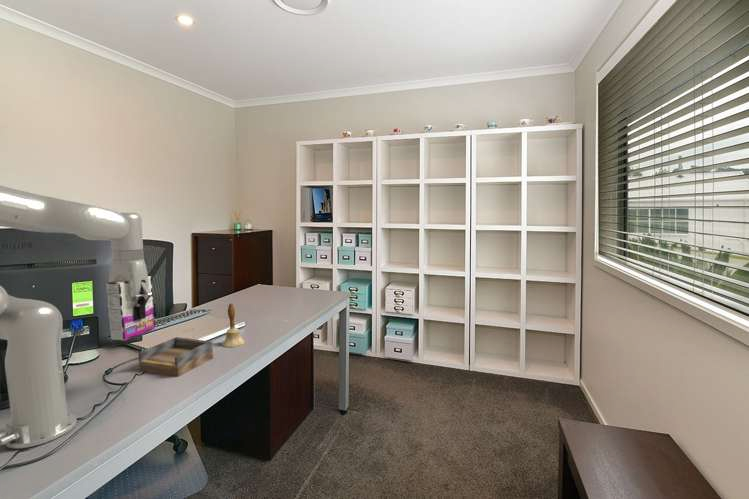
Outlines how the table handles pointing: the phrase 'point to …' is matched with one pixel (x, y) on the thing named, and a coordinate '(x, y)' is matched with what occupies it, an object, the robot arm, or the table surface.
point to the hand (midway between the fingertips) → (132, 317)
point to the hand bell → (232, 331)
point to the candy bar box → (127, 312)
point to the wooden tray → (175, 356)
